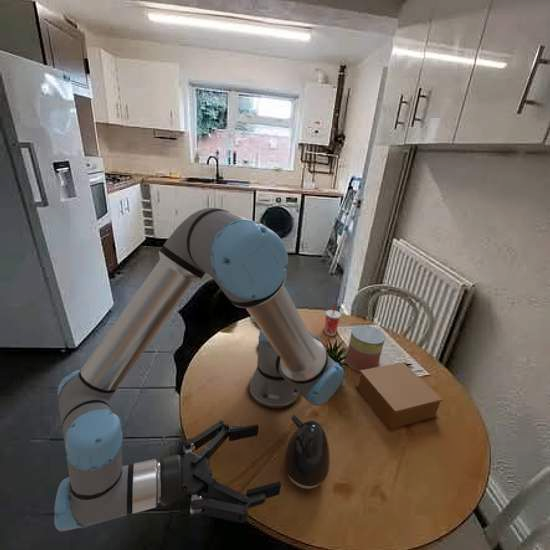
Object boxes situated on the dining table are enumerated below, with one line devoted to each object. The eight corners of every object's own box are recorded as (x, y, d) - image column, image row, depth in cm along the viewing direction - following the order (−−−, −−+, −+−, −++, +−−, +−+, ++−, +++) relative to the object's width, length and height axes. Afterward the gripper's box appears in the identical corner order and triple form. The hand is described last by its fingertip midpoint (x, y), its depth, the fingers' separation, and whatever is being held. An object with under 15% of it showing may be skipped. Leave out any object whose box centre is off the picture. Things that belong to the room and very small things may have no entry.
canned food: (380, 375, 105) (387, 345, 101) (346, 369, 106) (352, 340, 102) (375, 355, 116) (382, 327, 111) (345, 350, 117) (350, 323, 112)
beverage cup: (320, 328, 130) (325, 299, 124) (334, 328, 131) (339, 298, 126) (325, 337, 124) (330, 306, 119) (339, 336, 125) (345, 306, 120)
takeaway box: (356, 387, 99) (360, 370, 96) (398, 379, 104) (403, 362, 101) (389, 430, 84) (395, 411, 82) (436, 417, 90) (443, 399, 87)
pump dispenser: (298, 445, 78) (305, 399, 72) (334, 472, 72) (345, 424, 66) (272, 475, 70) (278, 426, 65) (310, 507, 65) (320, 457, 59)
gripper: (156, 439, 68) (248, 422, 77) (161, 576, 47) (287, 533, 55) (157, 413, 66) (252, 399, 74) (162, 546, 44) (295, 505, 53)
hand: (267, 456), depth 65 cm, fingers open, 13 cm apart
